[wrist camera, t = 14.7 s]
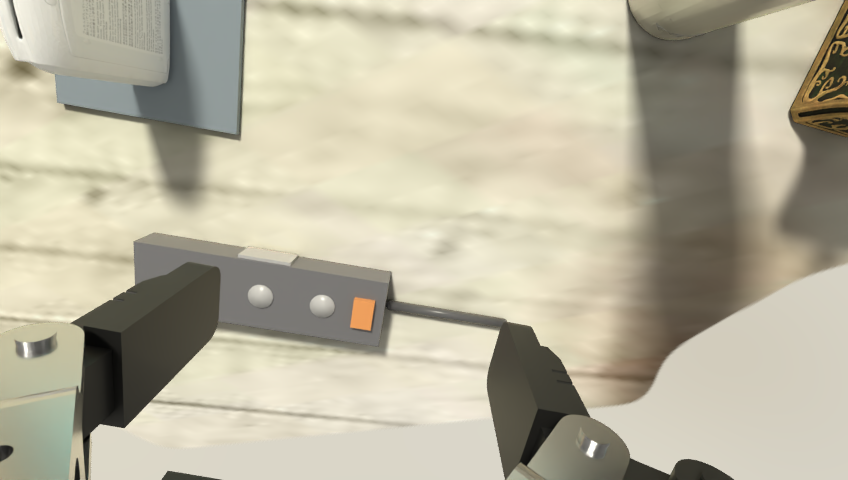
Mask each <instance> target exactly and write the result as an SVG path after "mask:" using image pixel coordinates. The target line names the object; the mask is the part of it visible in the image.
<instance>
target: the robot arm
mask: <svg viewBox="0 0 848 480" xmlns="http://www.w3.org/2000/svg"><path fill="white" fill-rule="evenodd" d="M811 1H815V0H628V2H629V5H630V9H631V12H632V14H633V16H634V18H635V19H636V21H637V23H638V24H639V25H640V26H641V27H642V28H643V29H644V30H645V31H646V32H648V33H650V34H651V35H653V36H655V37H658V38H661V39H664V40H681V39H687V38H690V37H694V36H699V35H702V34H706V33H707V32H710V31H714V30H718V29H721V28H724V27H728V26H731V25H734V24H738V23H741V22H744V21H748V20H751V19H754V18H758V17H761V16H764V15H768V14H771V13H774V12H778V11H781V10H784V9H788V8H791V7H794V6H798V5H801V4H804V3H808V2H811ZM220 282H221V273H220V270H219V268H218V267H215V266H210V265H205V264H199V263H194V262H186V263H184V264H183V265H181V266H180V267H178V268H176V269H175V270H173V271H171V272H170V273H168V274H167V275H161V276H158V277H155V278H151V279H148V280H145V281H142V282H140V283H138V284H137V285H135V286H133V287H132V288H130V289H128V290H127V291H126V293H125V292H123V293H121V294H120V295H118V296H116V297H114V299H113V300H109V301H108V302H106V303H104V304H102V305H101V306H99V307H97V308H96V309H94V310H92V311H91V312H89V313H87V314H85V315H84V316H82V317H80V318H79V319H77V320H75V321H73V322H72V323H63V322H45V323H36V324H30V325H26V326H22V327H18V328H15V329H12V330H9V331H6V332H4V333H2V334H0V480H91V479H90V478H91V450H92V441H91V432H92V431H93V430H94V429H95V428H96V427H97V426H98V425H99V424H103V425H109V426H115V427H121V428H125V427H126V426H127V425H128V424H129V423H130V422H131V421H132V420H133V419H134V418H135V417H136V416H137V415H138V414H139V413H140V412H141V410H142V409H143V408H144V407H145V406H146V405H147V404H148V403H149V402H150V401H151V400H152V399H153V398H154V397H155V396H156V395H157V394H158V393H159V392H160V391H161V390H162V389H163V388H164V387H165V386H166V385H167V384H168V383H169V382H170V381H171V380H172V379H173V378H174V377H175V375H176V374H177V373H178V372H179V371H180V370H181V369H182V368H183V367H184V366H185V365H186V364H187V363H188V362H189V361H190V360H191V359H192V358H193V357H194V356H195V355H196V354H197V353H198V352H199V351H200V350H201V349H202V348H203V347H204V346H205V345H206V344H207V343H208V342H209V340H210V339H211V338H212V336H213V335H214V332H215V330H216V328H217V324H218V319H219V302H220ZM487 391H488V397H489V402H490V407H491V412H492V417H493V422H494V427H495V431H496V437H497V441H498V447H499V451H500V457H501V462H502V467H503V472H504V477H505V480H734V479H732V478H731V477H730V476H728V475H727V474H725V473H723V472H722V471H720V470H718V469H717V468H715V467H713V466H711V465H708V464H706V463H703V462H700V461H697V460H691V459H684V460H681V461H678V462H677V463H676V465H675V467H674V469H673V471H672V473H671V475H669V474H666V473H664V472H661V471H659V470H657V469H654V468H652V467H649V466H647V465H644V464H642V463H640V462H637V461H635V460H633V459H631V458H630V454H629V450H628V448H627V446H626V445H625V443H624V442H623V440H622V439H621V438H620V437H619V436H618V435H617V434H616V433H615V432H614V431H613V430H611V429H610V428H609V427H607V426H605V425H604V424H602V423H601V422H599V421H597V420H595V419H592V418H590V416H589V414H588V412H587V410H586V408H585V406H584V404H583V402H582V400H581V398H580V396H579V394H578V392H577V390H576V389H575V387H574V385H572V381H571V379H570V377H569V375H567V371H566V369H565V367H564V365H563V364H562V362H561V360H560V359H559V358H558V357H557V356H556V355H555V354H554V353H553V352H552V351H551V350H550V349H549V348H548V347H544V346H540V344H539V342H538V340H537V337H536V335H535V333H534V331H533V329H532V327H531V326H526V325H521V324H515V323H510V322H504V323H503V324H502V326H501V329H500V332H499V336H498V339H497V342H496V346H495V349H494V353H493V356H492V360H491V363H490V367H489V371H488V377H487ZM162 480H220V479H214V478H208V477H202V476H196V475H190V474H184V473H178V472H172V471H167V473H166V474H165V476H164V477H163V478H162Z"/></svg>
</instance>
